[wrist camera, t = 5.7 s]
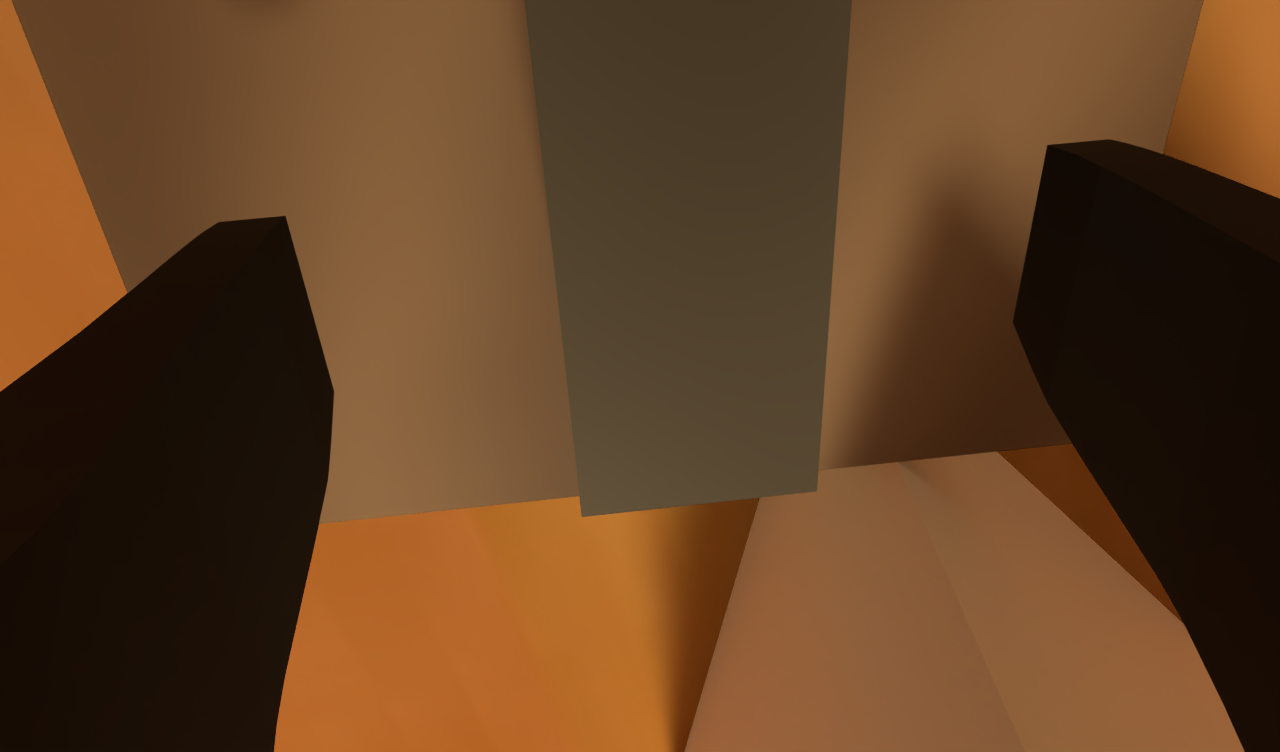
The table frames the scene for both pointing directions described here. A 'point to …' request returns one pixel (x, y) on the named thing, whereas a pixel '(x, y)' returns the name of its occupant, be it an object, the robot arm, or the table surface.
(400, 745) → the table surface
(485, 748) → the table surface
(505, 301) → the lid
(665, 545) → the table surface
